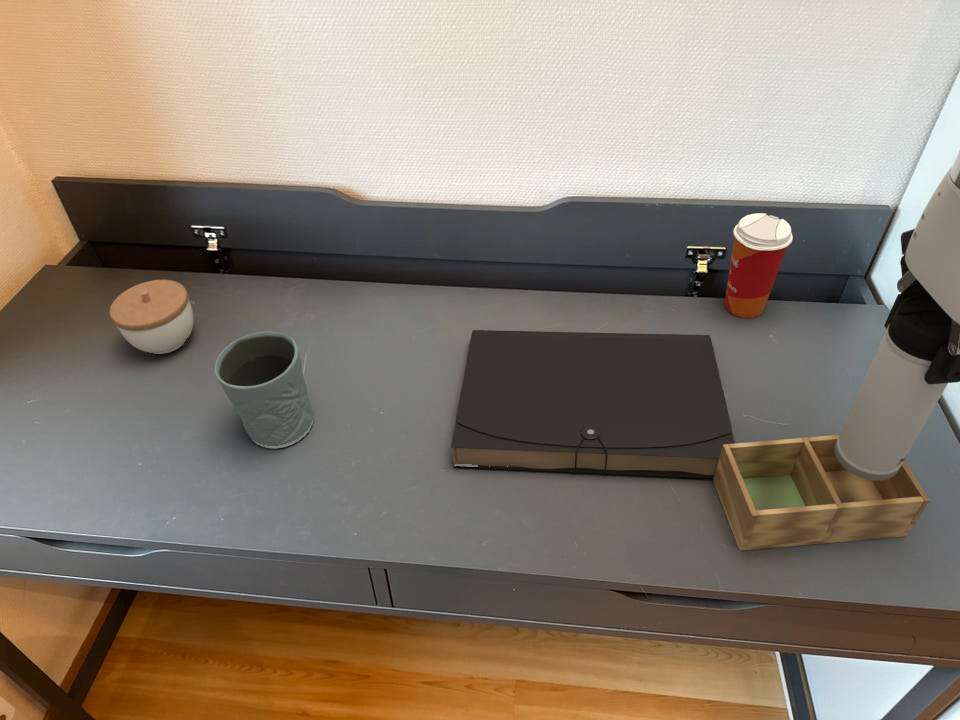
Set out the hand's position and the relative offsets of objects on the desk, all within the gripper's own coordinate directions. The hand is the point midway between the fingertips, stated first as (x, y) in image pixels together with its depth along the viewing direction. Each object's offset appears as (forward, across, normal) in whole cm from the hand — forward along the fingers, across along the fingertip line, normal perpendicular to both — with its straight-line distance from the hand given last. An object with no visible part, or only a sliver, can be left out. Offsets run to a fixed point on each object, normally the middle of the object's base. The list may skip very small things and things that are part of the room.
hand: (921, 352), depth 63 cm
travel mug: (+15, 0, 0) cm, 15 cm away
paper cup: (+24, +36, -1) cm, 43 cm away
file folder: (+24, +19, +26) cm, 40 cm away
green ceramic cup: (+23, +20, +66) cm, 73 cm away
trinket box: (+23, +38, +86) cm, 97 cm away
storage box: (+23, 0, +4) cm, 24 cm away
